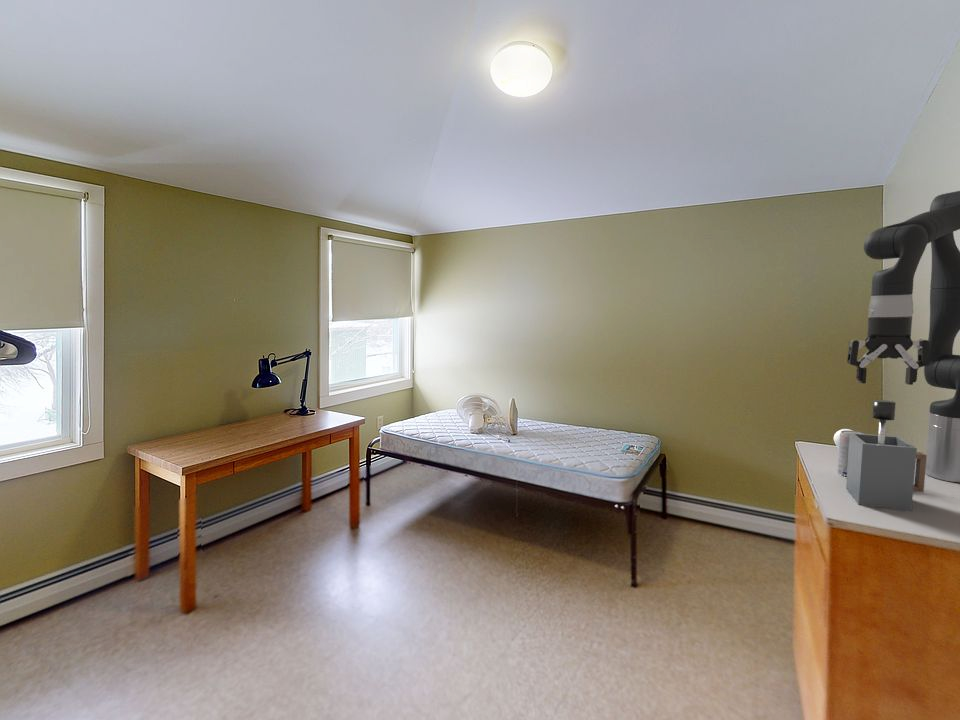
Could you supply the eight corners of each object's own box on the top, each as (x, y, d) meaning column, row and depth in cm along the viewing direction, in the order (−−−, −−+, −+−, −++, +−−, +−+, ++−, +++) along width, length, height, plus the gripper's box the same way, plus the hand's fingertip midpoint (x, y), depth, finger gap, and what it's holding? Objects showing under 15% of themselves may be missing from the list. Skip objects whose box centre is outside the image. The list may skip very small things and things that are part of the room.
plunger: (890, 482, 109) (897, 399, 107) (902, 493, 103) (910, 405, 101) (854, 478, 112) (860, 398, 110) (864, 488, 106) (870, 403, 104)
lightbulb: (848, 461, 133) (851, 426, 132) (864, 469, 127) (866, 432, 126) (827, 461, 134) (829, 426, 133) (841, 469, 128) (843, 432, 127)
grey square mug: (911, 496, 109) (916, 437, 107) (930, 513, 100) (935, 449, 99) (846, 489, 115) (849, 432, 113) (858, 504, 106) (862, 443, 104)
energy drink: (866, 478, 121) (869, 436, 119) (844, 477, 122) (847, 435, 120) (854, 471, 126) (857, 430, 124) (833, 470, 127) (835, 430, 126)
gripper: (923, 313, 103) (917, 382, 105) (846, 315, 109) (842, 380, 111) (939, 314, 96) (933, 387, 98) (856, 316, 102) (852, 385, 104)
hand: (885, 383), depth 105 cm, fingers open, 8 cm apart
